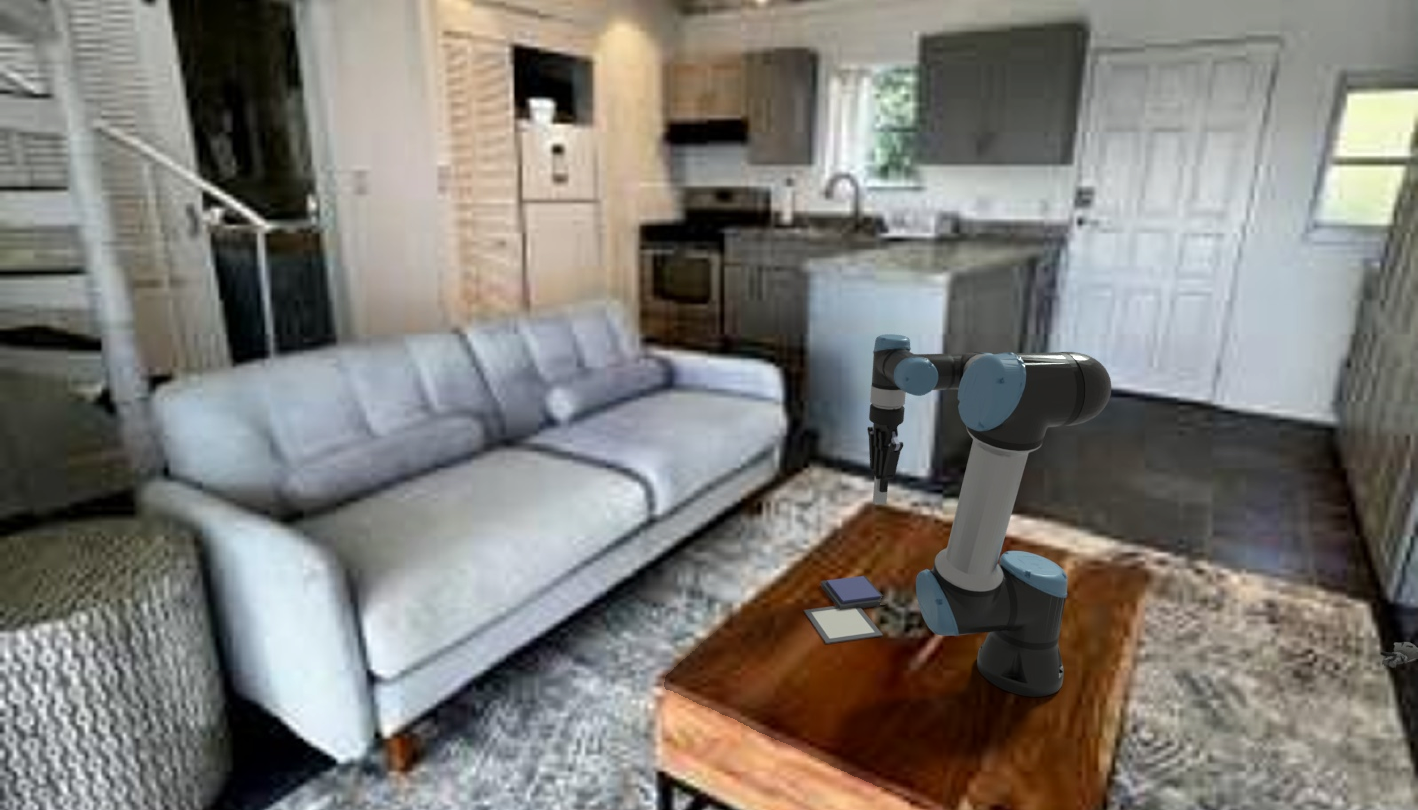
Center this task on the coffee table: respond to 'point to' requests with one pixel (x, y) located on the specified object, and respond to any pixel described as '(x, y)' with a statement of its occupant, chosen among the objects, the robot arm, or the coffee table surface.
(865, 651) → the coffee table surface
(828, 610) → the grey picture frame
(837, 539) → the coffee table surface
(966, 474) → the robot arm
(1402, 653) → the grey lumpy piece
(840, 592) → the ink pad
